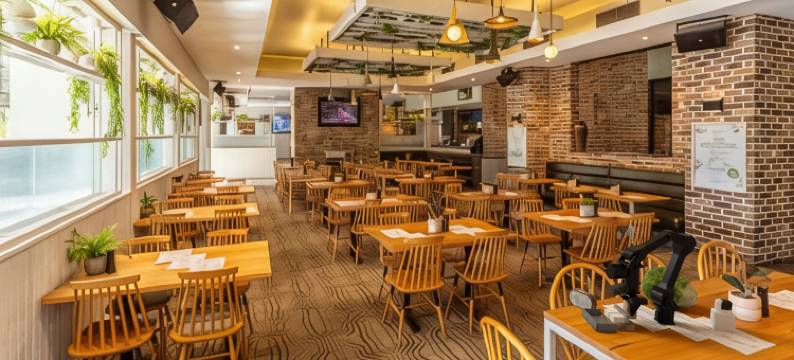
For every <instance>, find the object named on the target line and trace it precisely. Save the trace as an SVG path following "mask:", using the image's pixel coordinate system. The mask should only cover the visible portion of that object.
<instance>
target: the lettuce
mask: <svg viewBox="0 0 794 360" xmlns="http://www.w3.org/2000/svg"><path fill="white" fill-rule="evenodd" d="M666 269H667V266H655V267H652V268H650V269H649V270H647V271H646V273H645V275H644V276H643V279H642V281H641V289H642V292H643V296H644V297H645V298H646V299H647V300H648V301H650V302H652V303H653V301H652V299H651V293H650V292H651V291H652V289H653V286H654V285H659V284H660V283H661V281H662V279H663V276H664V274H665V271H666ZM673 289H674V295H675V296H674V300H673V301H674V302H675V303H676V304H677V305H678V306H679V308H689V307H692V306H694V305H696V303H697V302H698V292H697V290H696V288H695V287H694V286H693V285H692V282H691V281H690V280H689V279H688V278H687V277H685V276H684V275H683V274H681V273H679V275H678V278H677V280H676V283H675V285H674V288H673Z"/></svg>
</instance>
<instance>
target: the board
mask: <svg viewBox="0 0 794 360" xmlns="http://www.w3.org/2000/svg"><path fill="white" fill-rule="evenodd" d="M602 317H603V318H604V319H605V320H606V321H607V322H608V323H613V322H612V321H611V320H610V319H609V318H608V317H607V316H606V315H605V314H604V312H602ZM616 324H617V331H622V332H636V324H635V323H633V322H632V321H631V319H630V320H629V323H616Z"/></svg>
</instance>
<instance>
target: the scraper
mask: <svg viewBox="0 0 794 360" xmlns="http://www.w3.org/2000/svg"><path fill="white" fill-rule="evenodd" d="M622 301H623V304H622V307H621V306H620V305H618V304H617V303H615V304H613V309H616V310H617V311H618V312H619V313H620V314H622V315H623V316H624V317H625V323H629V320H630V321H631V320H632V321H633V320H634V321H635V320H637V318H638V317H637V315H638V310H637V311H636V313H635V314H634V316H630V307H629V303H628V302H627V301H626V300H623V299H622Z"/></svg>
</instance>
